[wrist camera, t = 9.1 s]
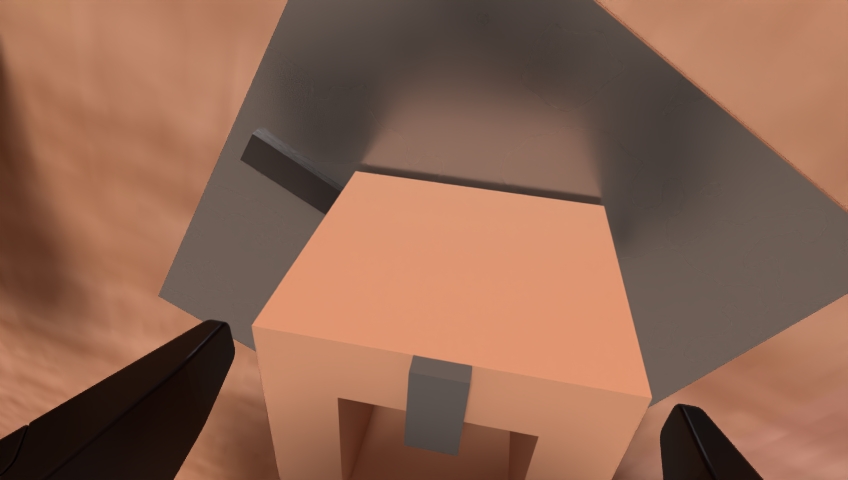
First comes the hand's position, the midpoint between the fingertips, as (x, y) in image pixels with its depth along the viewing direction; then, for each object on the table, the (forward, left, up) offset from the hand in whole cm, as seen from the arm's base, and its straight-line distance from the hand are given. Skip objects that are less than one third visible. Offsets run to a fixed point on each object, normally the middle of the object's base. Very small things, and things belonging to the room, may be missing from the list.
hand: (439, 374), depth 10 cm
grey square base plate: (0, 0, -4) cm, 4 cm away
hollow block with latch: (0, 0, -3) cm, 3 cm away
